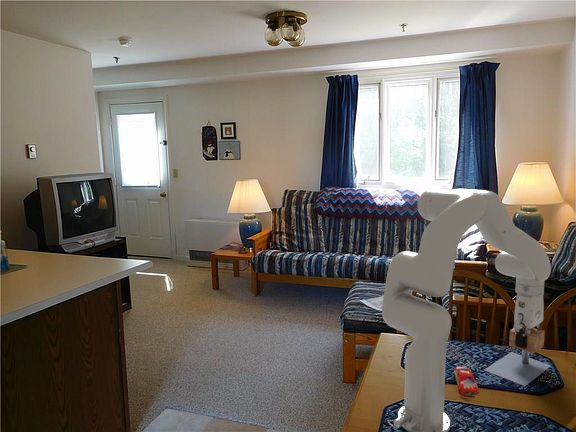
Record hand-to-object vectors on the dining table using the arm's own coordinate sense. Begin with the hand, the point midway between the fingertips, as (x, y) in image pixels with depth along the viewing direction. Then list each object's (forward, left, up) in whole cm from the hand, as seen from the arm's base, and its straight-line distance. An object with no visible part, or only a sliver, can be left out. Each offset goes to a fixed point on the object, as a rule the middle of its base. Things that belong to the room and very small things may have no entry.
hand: (526, 342), depth 134 cm
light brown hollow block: (0, 0, -1) cm, 1 cm away
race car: (-25, +6, -8) cm, 27 cm away
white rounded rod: (0, 0, -6) cm, 6 cm away
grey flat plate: (-5, 0, -8) cm, 9 cm away
